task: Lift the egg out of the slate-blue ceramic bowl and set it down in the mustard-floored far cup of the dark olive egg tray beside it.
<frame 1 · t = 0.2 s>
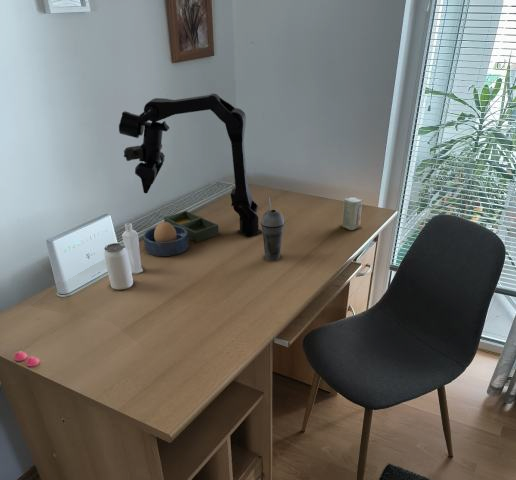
hand: (148, 188, 169), 15 cm above the table, tool pointing down, fingers open, 9 cm apart
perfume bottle: (137, 271, 153), on the table
beverage cup: (272, 258, 159), on the table
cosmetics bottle: (350, 227, 178), on the table
can: (122, 285, 146), on the table
bowl: (167, 247, 166), on the table
egg: (167, 247, 166), resting on bowl
carton: (191, 230, 178), on the table
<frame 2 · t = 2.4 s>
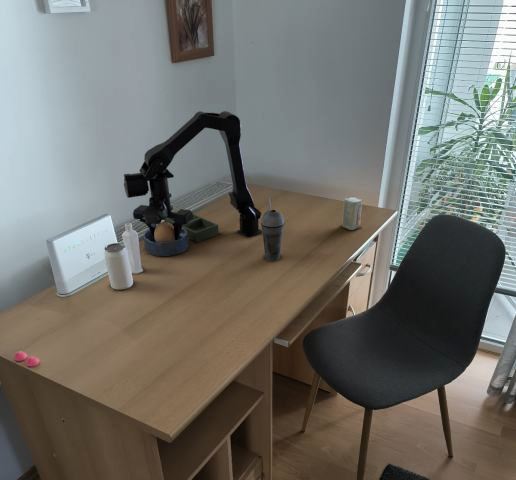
hand: (166, 239, 164), 3 cm above the table, tool pointing down, fingers closed on egg, 7 cm apart
egg: (167, 247, 166), resting on bowl, touching gripper
everything else where it was.
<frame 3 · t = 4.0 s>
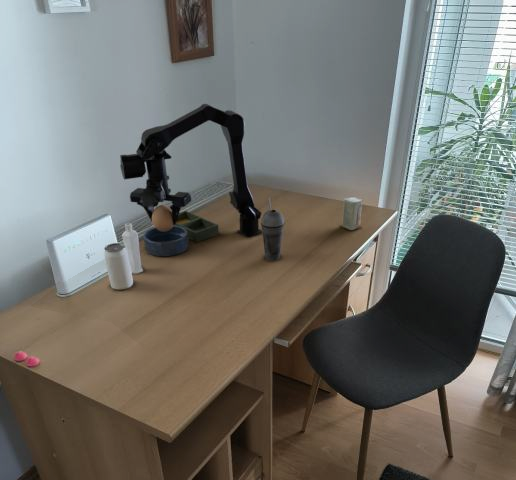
hand: (163, 223, 161), 9 cm above the table, tool pointing down, fingers closed on egg, 7 cm apart
egg: (165, 231, 163), point 6 cm above the table, touching gripper
everything else where it was.
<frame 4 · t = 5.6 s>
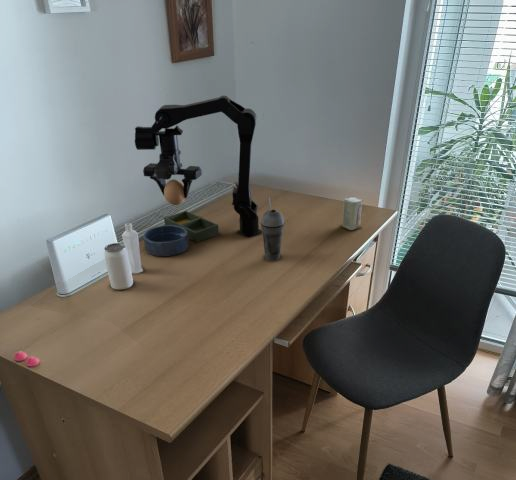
hand: (175, 197, 169), 13 cm above the table, tool pointing down, fingers closed on egg, 7 cm apart
egg: (176, 205, 170), point 10 cm above the table, touching gripper
everything else where it was.
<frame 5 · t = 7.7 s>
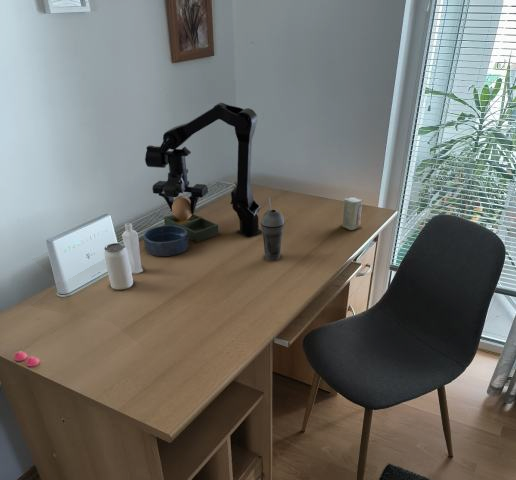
hand: (182, 212, 177), 5 cm above the table, tool pointing down, fingers closed on egg, 7 cm apart
egg: (183, 220, 179), point 2 cm above the table, touching gripper
everything else where it was.
when the fingers open (3 cm above the table, at t = 9.0 s): egg stays where it is, resting on carton.
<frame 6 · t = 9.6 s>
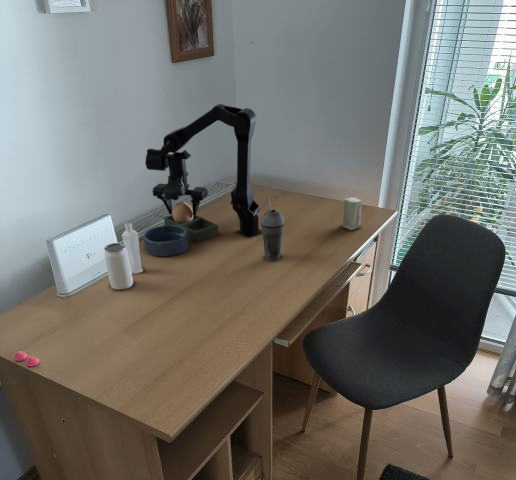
hand: (182, 215, 178), 4 cm above the table, tool pointing down, fingers open, 9 cm apart
egg: (184, 225, 180), point 1 cm above the table, touching carton
everything else where it was.
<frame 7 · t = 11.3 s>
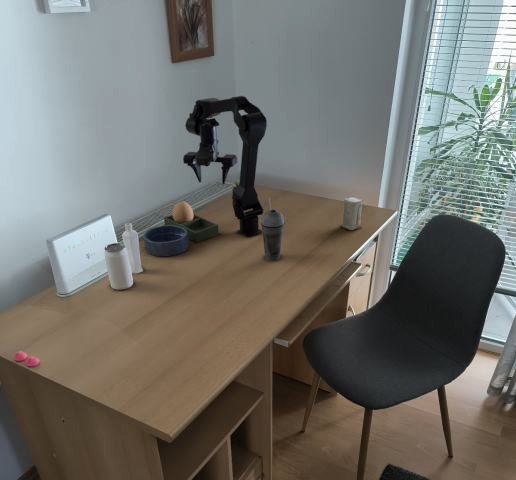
hand: (211, 183, 182), 12 cm above the table, tool pointing down, fingers open, 9 cm apart
nothing on the table moved.
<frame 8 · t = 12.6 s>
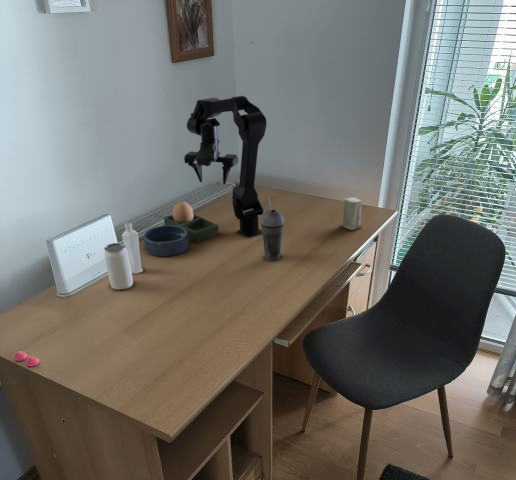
hand: (212, 183, 182), 12 cm above the table, tool pointing down, fingers open, 9 cm apart
nothing on the table moved.
at the end: egg 0.2 cm from the target spot in the carton, point 0.5 cm above the carton's base; the gripper is holding nothing; egg moved 17.9 cm from its start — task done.
